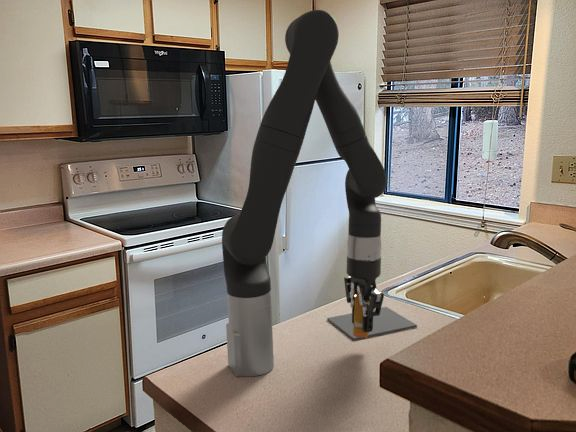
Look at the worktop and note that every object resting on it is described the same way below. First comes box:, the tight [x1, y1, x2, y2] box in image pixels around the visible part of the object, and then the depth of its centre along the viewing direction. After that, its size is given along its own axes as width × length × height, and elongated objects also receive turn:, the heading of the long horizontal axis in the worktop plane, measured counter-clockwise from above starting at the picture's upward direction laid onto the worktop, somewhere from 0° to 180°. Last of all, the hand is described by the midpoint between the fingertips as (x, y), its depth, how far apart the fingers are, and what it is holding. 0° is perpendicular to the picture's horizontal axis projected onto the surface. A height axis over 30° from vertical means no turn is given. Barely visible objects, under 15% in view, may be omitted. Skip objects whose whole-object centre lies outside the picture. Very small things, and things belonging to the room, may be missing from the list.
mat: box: [327, 306, 418, 341], centre depth 135 cm, size 18×14×1 cm
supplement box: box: [353, 293, 370, 339], centre depth 119 cm, size 3×3×10 cm
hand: (362, 327), depth 120 cm, fingers closed on supplement box, 4 cm apart
